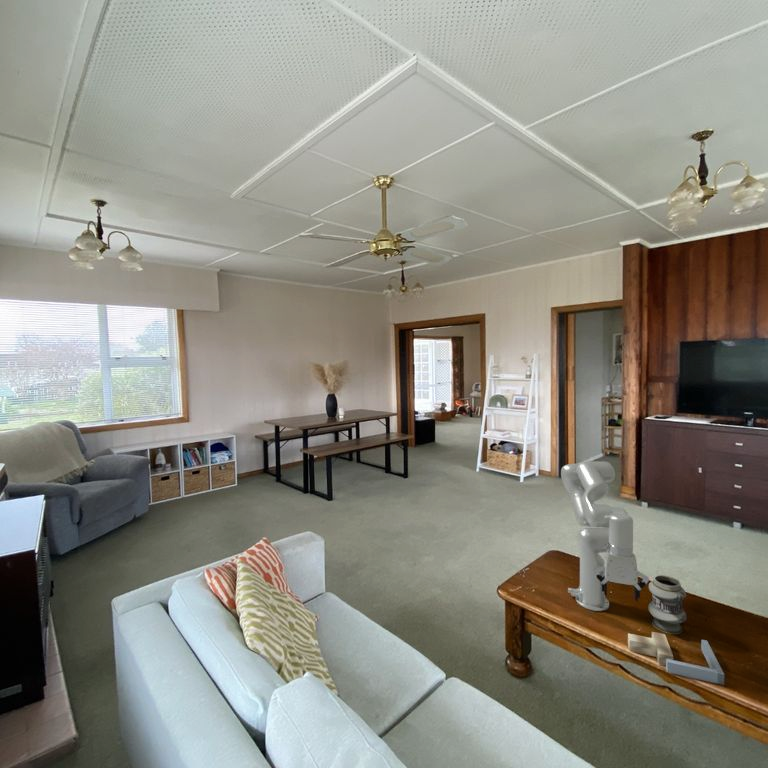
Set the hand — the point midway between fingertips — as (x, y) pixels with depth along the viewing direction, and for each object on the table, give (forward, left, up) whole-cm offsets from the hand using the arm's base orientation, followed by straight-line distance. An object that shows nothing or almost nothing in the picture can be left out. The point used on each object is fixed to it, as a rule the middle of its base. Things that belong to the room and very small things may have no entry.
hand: (620, 596), depth 151 cm
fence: (+20, -2, -17) cm, 27 cm away
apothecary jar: (+18, +17, -18) cm, 30 cm away
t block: (+9, -1, -18) cm, 20 cm away
